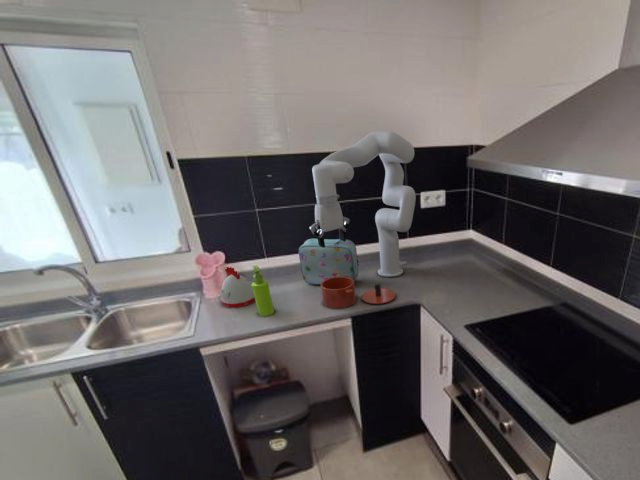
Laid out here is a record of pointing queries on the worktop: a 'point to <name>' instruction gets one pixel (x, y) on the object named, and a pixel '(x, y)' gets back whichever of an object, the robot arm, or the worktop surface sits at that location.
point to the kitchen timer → (236, 290)
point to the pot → (338, 292)
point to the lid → (378, 295)
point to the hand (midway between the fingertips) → (332, 243)
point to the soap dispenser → (262, 294)
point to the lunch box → (328, 260)
